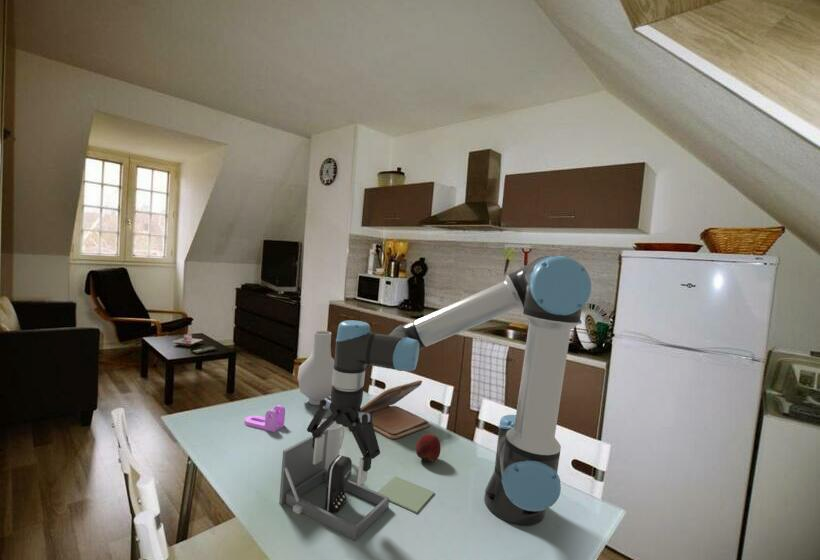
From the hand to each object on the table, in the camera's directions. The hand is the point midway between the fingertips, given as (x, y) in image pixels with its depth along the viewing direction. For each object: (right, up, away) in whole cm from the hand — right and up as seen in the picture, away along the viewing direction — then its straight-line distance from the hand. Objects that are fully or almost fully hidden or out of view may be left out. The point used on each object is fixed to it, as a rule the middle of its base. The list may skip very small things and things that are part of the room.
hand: (338, 472), depth 95 cm
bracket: (-33, -3, +39) cm, 51 cm away
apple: (+22, -9, +26) cm, 35 cm away
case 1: (0, -8, 0) cm, 8 cm away
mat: (+16, -9, +8) cm, 20 cm away
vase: (-20, -3, +62) cm, 65 cm away
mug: (-6, -7, +19) cm, 21 cm away
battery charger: (0, -9, +1) cm, 9 cm away
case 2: (+11, -7, +50) cm, 52 cm away
